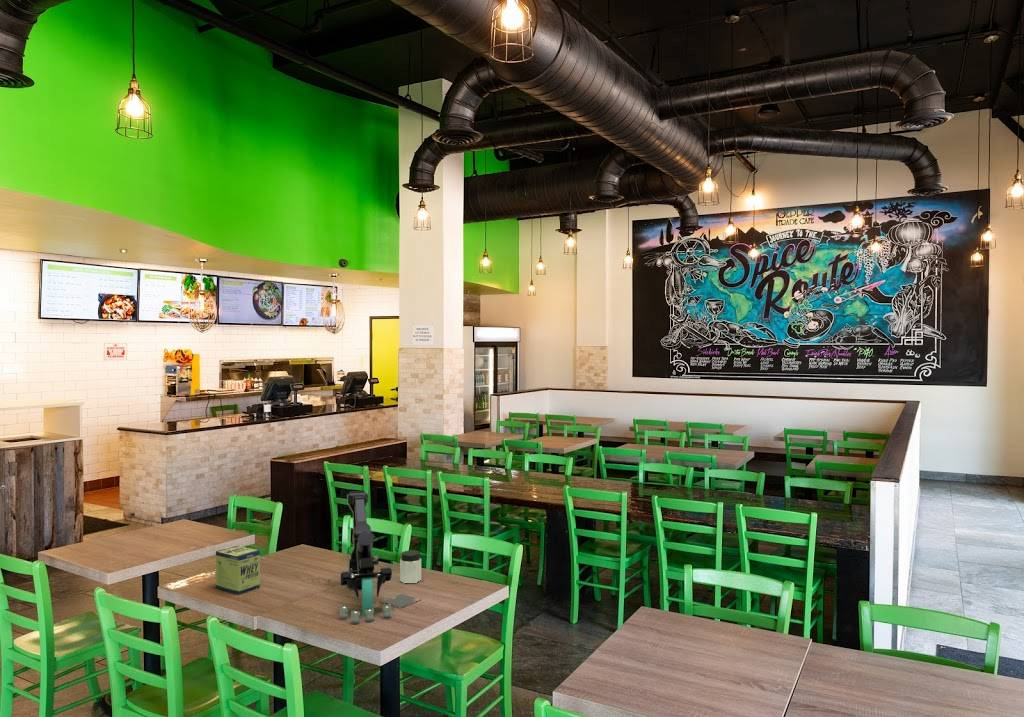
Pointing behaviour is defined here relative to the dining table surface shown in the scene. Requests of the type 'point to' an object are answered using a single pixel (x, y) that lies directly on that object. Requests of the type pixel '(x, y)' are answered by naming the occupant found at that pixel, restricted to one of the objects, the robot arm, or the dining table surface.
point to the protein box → (237, 569)
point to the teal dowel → (367, 594)
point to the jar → (410, 566)
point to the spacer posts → (368, 613)
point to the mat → (400, 600)
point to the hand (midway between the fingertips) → (367, 597)
